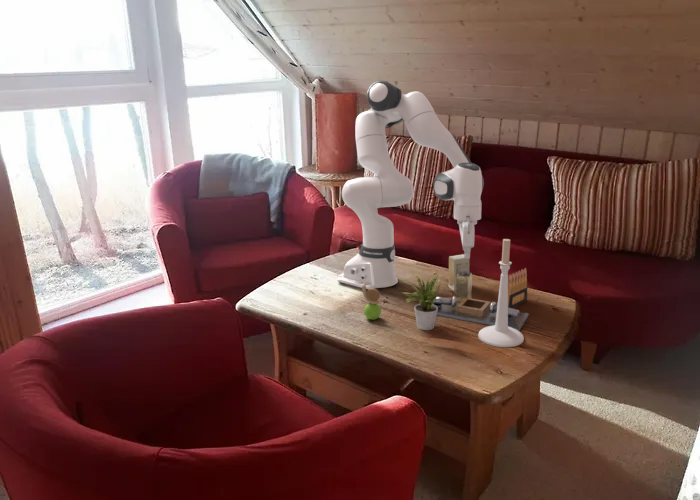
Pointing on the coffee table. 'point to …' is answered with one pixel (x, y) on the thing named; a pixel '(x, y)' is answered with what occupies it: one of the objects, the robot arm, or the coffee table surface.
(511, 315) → the shaft right
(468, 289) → the pale yellow block
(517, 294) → the ammunition clip
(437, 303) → the shaft left
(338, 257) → the coffee table surface
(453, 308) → the coupler station
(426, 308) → the house plant
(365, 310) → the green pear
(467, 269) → the skincare box
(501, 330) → the candlestick
